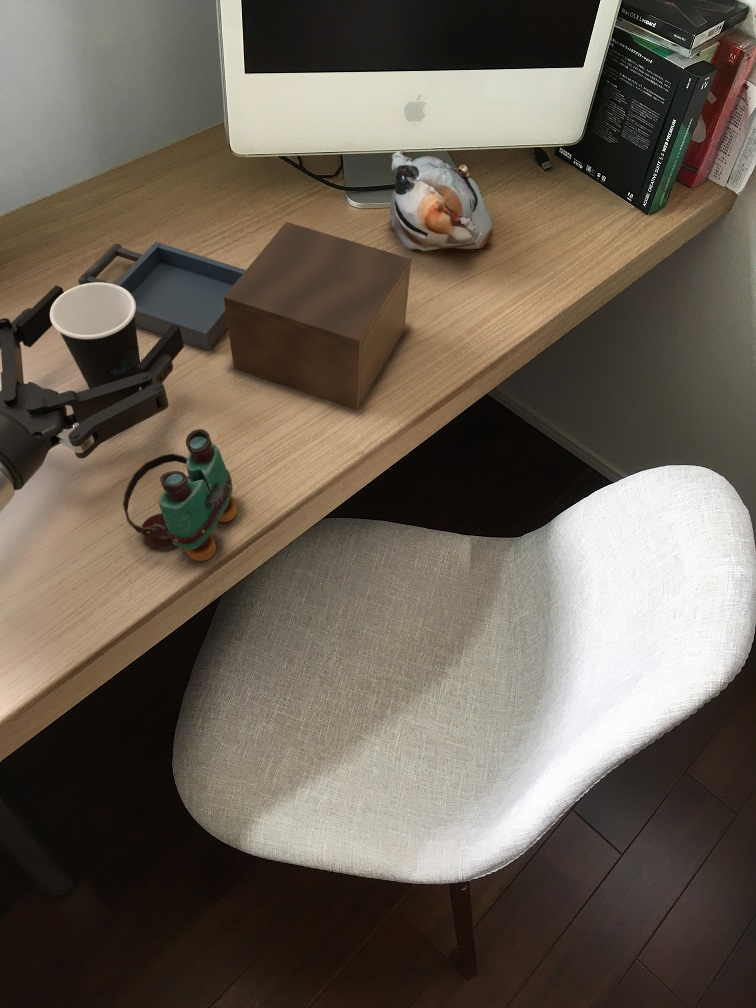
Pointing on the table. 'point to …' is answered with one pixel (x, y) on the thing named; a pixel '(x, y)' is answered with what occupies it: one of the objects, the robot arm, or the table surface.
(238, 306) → the drawer unit
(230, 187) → the table surface
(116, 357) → the dixie cup
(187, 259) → the drawer
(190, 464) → the binoculars
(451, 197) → the lucky cat figurine
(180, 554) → the table surface
